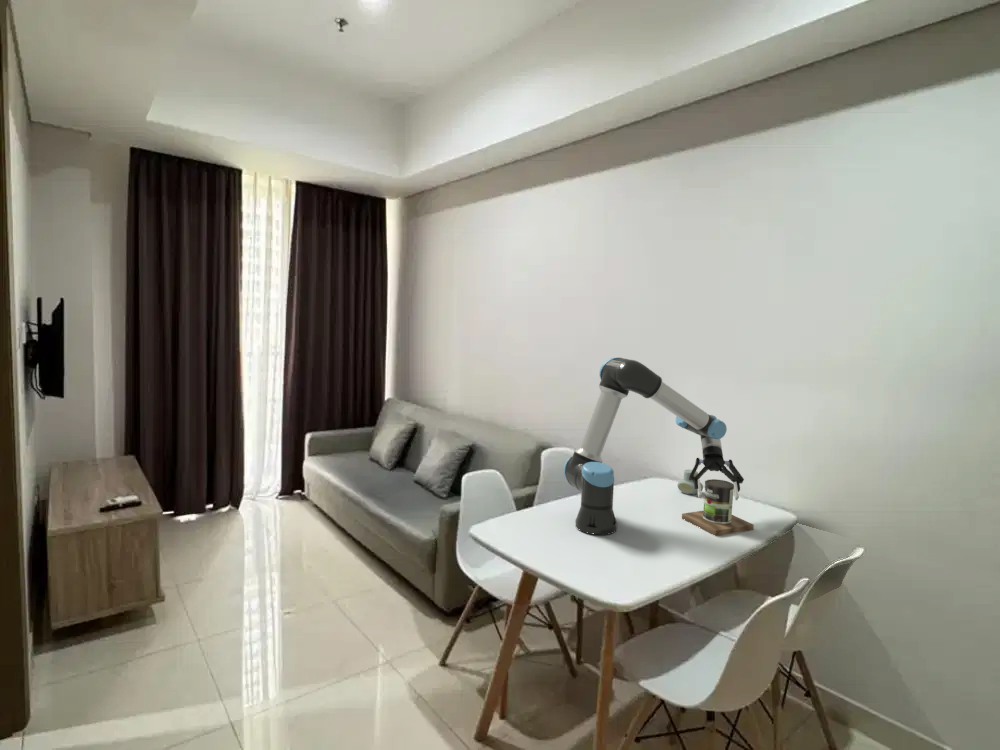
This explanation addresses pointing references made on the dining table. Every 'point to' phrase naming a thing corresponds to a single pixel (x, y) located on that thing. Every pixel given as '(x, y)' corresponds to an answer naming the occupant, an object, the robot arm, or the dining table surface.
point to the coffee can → (718, 501)
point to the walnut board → (715, 528)
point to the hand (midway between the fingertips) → (718, 497)
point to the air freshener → (688, 483)
